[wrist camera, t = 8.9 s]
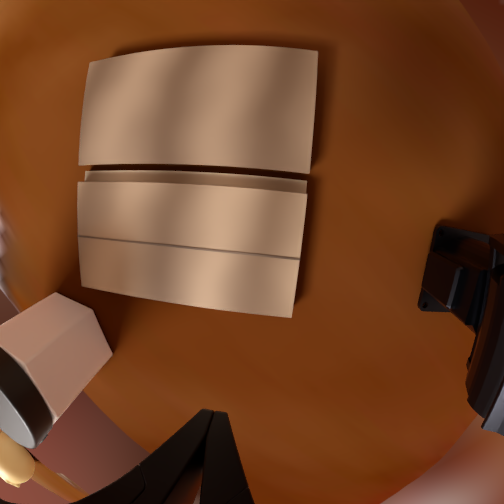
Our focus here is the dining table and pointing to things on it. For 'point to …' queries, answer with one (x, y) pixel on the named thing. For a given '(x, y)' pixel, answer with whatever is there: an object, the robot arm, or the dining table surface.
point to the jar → (46, 365)
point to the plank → (202, 108)
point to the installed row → (193, 238)
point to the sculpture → (14, 461)
